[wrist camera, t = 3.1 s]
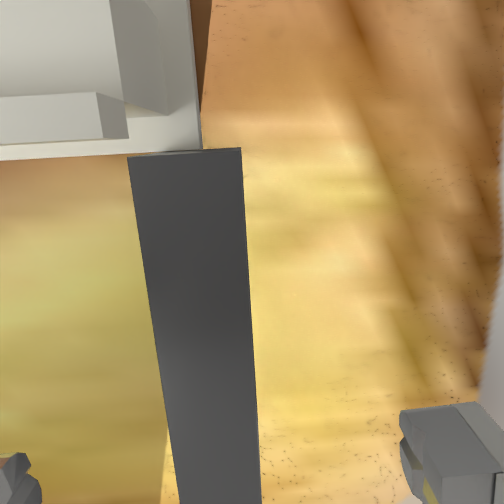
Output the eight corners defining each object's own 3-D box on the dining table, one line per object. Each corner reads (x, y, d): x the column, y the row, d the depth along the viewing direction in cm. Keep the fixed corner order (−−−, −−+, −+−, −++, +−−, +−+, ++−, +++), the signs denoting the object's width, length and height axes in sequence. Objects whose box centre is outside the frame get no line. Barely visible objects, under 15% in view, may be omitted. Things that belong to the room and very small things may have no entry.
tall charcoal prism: (257, 414, 18) (262, 511, 13) (198, 417, 18) (182, 516, 13) (240, 146, 14) (239, 150, 10) (165, 151, 14) (126, 157, 10)
